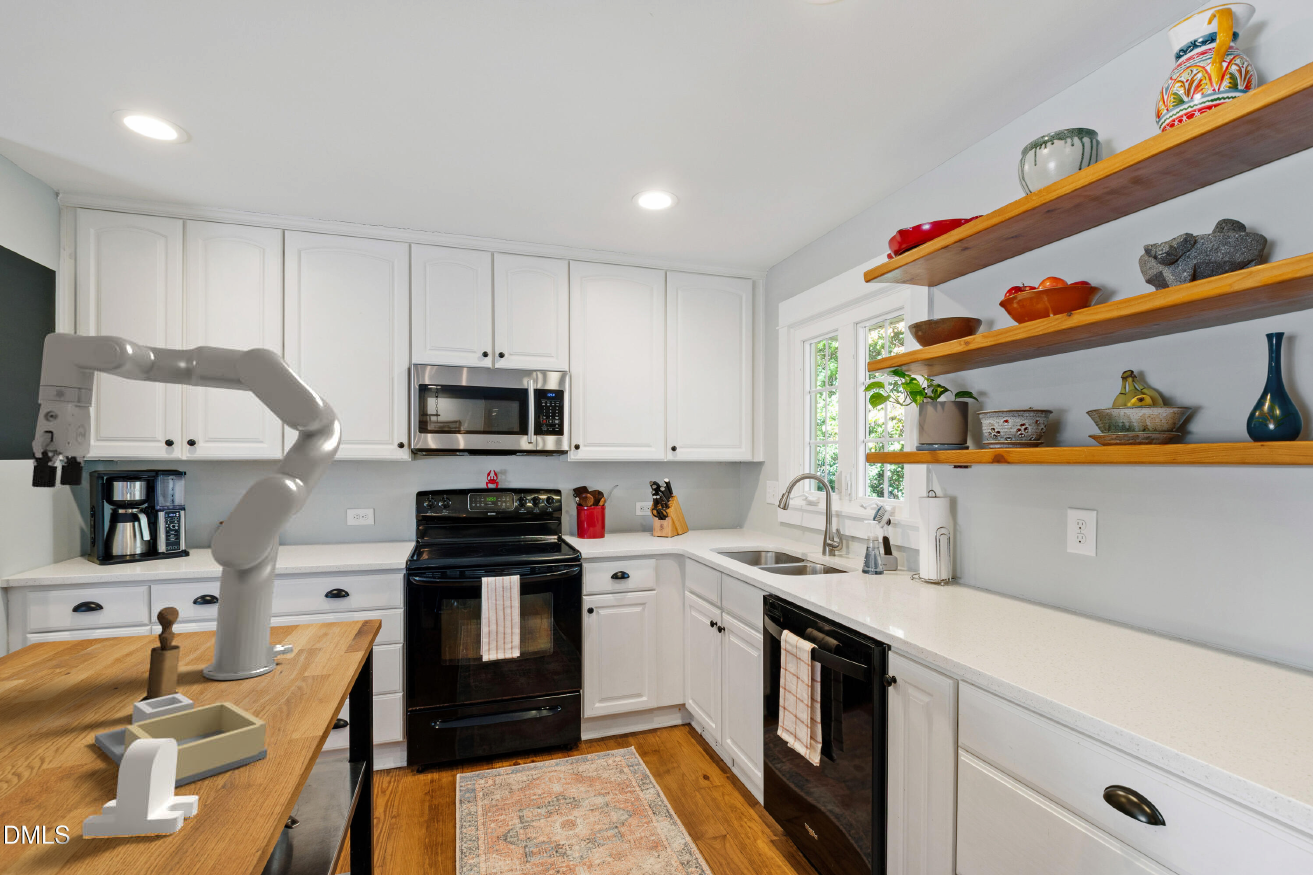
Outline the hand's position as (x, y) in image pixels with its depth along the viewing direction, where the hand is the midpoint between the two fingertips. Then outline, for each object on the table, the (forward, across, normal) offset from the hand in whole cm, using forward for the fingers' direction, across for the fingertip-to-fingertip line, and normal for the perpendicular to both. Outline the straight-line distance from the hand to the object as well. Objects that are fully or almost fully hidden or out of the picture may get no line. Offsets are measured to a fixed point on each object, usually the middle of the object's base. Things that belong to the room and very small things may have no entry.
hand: (57, 486), depth 120 cm
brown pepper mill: (+38, -22, -26) cm, 50 cm away
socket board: (+37, -38, -33) cm, 63 cm away
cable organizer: (+38, -60, -36) cm, 79 cm away
